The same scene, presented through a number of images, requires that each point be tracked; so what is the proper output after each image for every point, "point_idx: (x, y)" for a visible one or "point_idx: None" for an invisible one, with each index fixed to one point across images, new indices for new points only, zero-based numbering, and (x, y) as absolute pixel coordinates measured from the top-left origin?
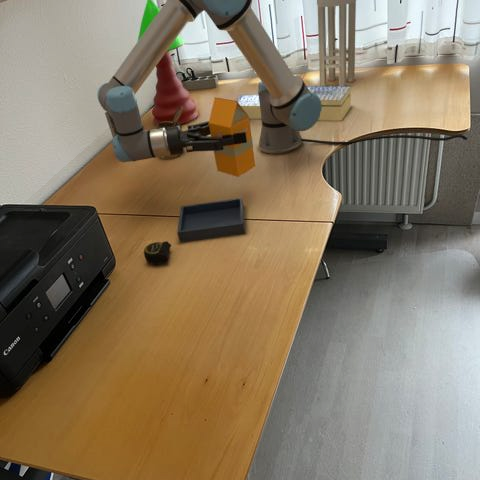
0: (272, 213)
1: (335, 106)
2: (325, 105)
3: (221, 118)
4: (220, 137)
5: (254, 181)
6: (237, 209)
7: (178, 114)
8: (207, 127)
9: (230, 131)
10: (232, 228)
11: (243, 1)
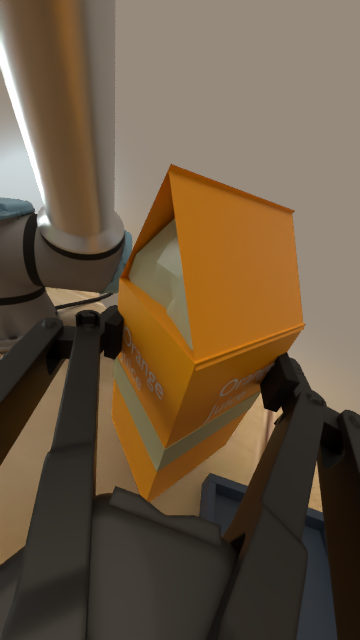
0: (241, 433)
1: None
2: None
3: (260, 304)
4: (309, 392)
5: (102, 414)
6: (220, 506)
7: None
8: (97, 401)
9: (290, 342)
10: None
11: None
